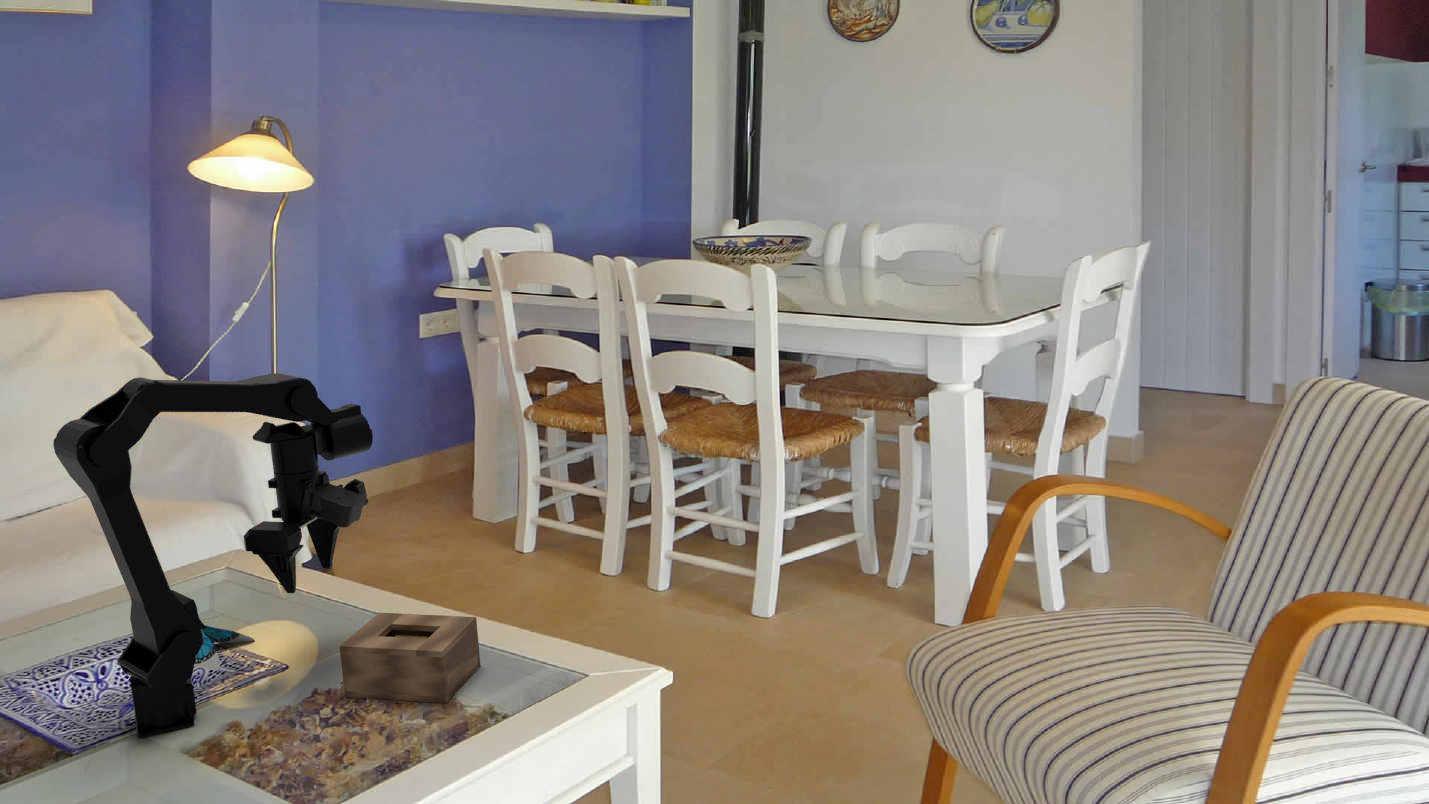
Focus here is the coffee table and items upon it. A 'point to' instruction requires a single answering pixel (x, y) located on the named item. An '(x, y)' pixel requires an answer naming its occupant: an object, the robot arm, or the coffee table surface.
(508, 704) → the coffee table surface
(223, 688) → the coffee table surface
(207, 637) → the decorative butterfly
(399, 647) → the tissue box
